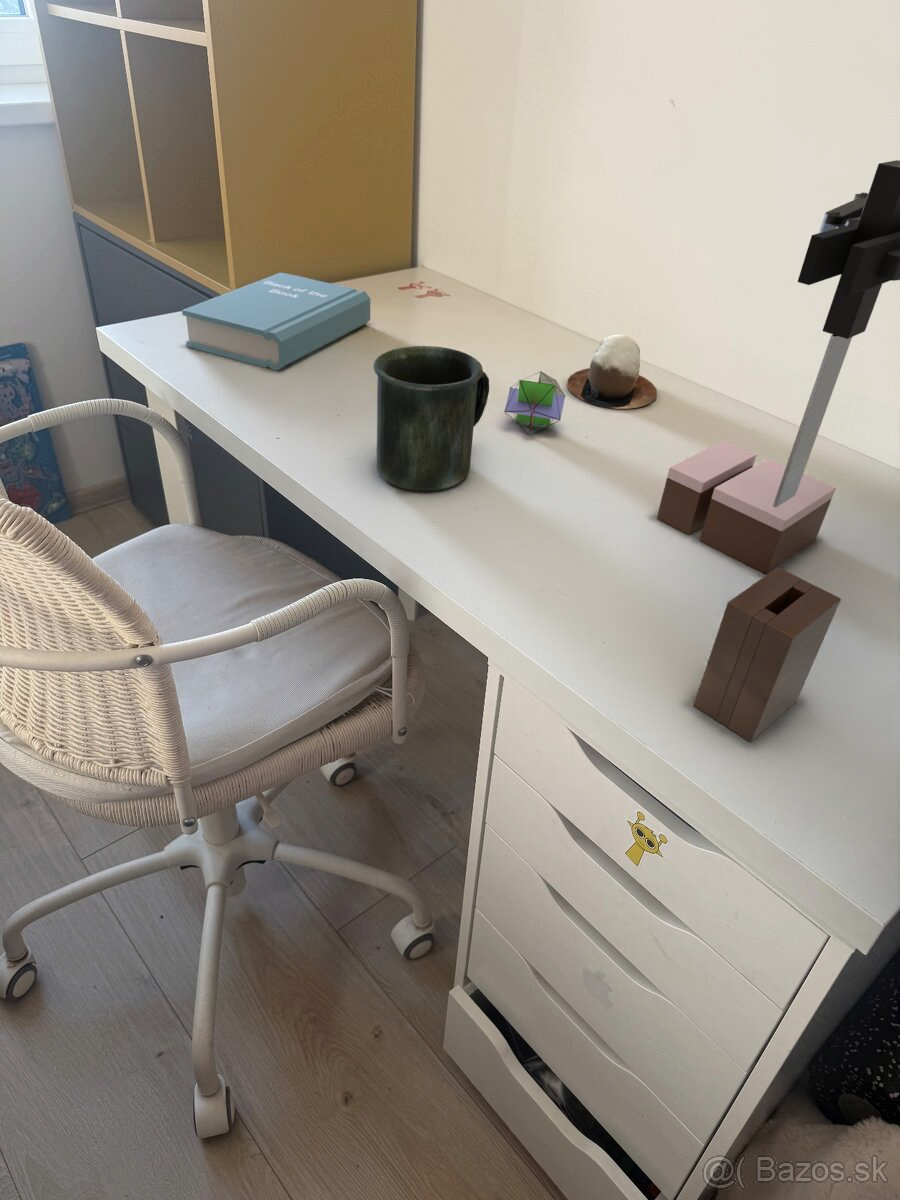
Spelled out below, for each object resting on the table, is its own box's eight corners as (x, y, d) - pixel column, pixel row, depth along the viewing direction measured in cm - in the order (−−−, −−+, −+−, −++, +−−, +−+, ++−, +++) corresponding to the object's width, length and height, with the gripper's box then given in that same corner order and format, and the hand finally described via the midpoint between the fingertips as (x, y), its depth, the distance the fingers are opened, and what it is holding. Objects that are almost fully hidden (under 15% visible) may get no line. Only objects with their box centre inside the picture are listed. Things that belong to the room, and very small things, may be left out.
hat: (569, 358, 117) (628, 312, 112) (613, 414, 120) (673, 372, 114) (552, 386, 108) (616, 336, 102) (601, 446, 110) (665, 401, 105)
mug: (351, 467, 90) (350, 360, 83) (446, 431, 99) (452, 331, 92) (419, 507, 84) (425, 395, 77) (514, 465, 93) (526, 361, 86)
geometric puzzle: (557, 434, 95) (570, 365, 95) (499, 425, 96) (511, 357, 96) (557, 447, 102) (568, 383, 102) (502, 438, 103) (513, 375, 103)
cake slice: (740, 504, 89) (757, 454, 86) (688, 535, 83) (703, 482, 80) (709, 489, 91) (723, 440, 88) (656, 518, 86) (669, 466, 82)
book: (282, 304, 132) (281, 272, 129) (370, 325, 126) (370, 292, 123) (186, 346, 115) (181, 310, 112) (282, 372, 110) (280, 335, 107)
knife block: (797, 700, 65) (841, 598, 59) (750, 742, 61) (793, 638, 55) (740, 667, 67) (778, 566, 61) (692, 705, 63) (727, 602, 57)
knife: (804, 499, 63) (927, 165, 49) (785, 512, 62) (907, 169, 48) (783, 490, 64) (898, 159, 50) (763, 502, 63) (876, 163, 49)
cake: (816, 539, 84) (836, 487, 81) (766, 574, 79) (785, 520, 75) (750, 509, 88) (767, 458, 85) (699, 540, 83) (714, 487, 79)
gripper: (1057, 297, 60) (929, 367, 47) (862, 248, 69) (706, 296, 55) (1113, 184, 56) (990, 226, 42) (897, 146, 64) (737, 171, 51)
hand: (830, 265), depth 49 cm, fingers closed on knife, 2 cm apart
